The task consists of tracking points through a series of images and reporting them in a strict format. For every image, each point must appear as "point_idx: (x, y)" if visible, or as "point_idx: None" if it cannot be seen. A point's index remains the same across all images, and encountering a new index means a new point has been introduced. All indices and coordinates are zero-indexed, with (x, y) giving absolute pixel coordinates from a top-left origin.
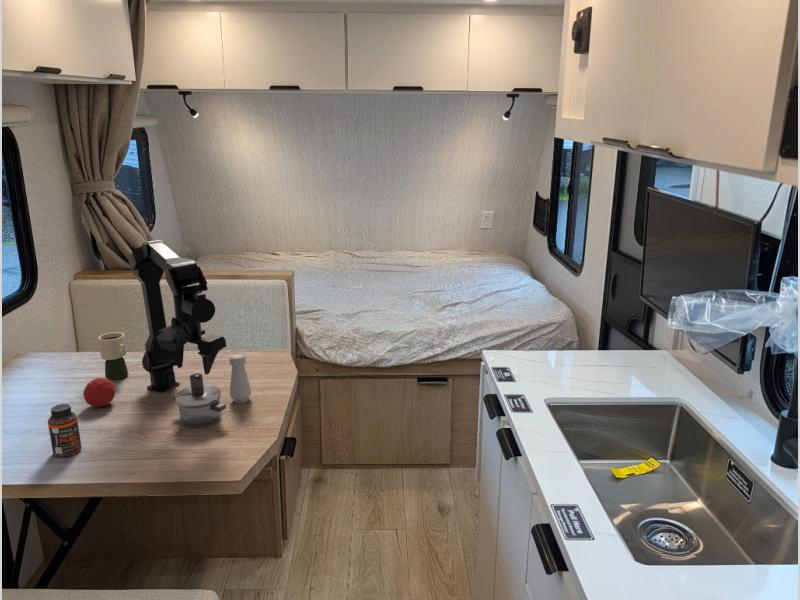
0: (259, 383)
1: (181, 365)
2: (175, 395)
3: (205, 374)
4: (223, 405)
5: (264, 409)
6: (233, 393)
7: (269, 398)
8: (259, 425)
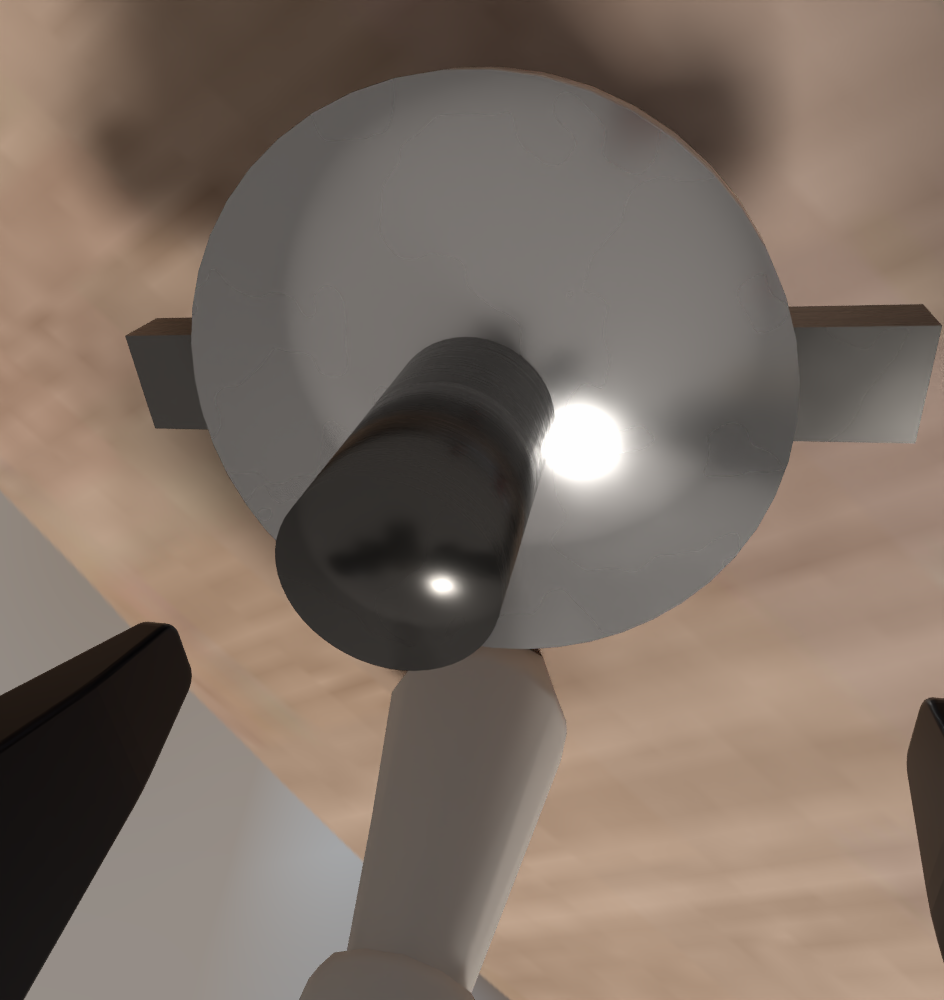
0: (575, 878)
1: (917, 783)
2: (745, 217)
3: (163, 624)
4: (144, 392)
5: (242, 618)
6: (459, 679)
7: (346, 741)
8: (64, 428)
